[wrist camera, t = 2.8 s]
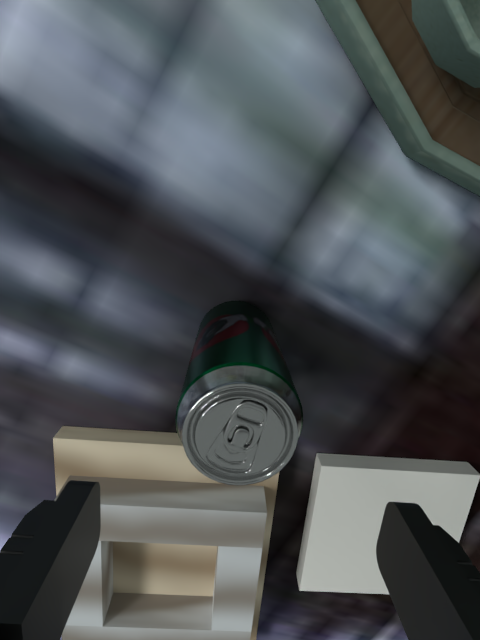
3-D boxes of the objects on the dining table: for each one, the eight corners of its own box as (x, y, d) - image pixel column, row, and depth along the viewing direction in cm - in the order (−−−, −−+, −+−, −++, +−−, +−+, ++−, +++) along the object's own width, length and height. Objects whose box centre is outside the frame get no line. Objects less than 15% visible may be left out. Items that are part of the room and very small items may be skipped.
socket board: (62, 425, 26) (34, 461, 22) (279, 439, 27) (287, 475, 23) (73, 624, 32) (51, 680, 28) (253, 630, 33) (256, 686, 29)
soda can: (188, 354, 25) (152, 471, 14) (214, 287, 24) (199, 354, 12) (255, 378, 26) (275, 510, 14) (284, 314, 24) (332, 403, 13)
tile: (316, 453, 28) (321, 465, 26) (467, 461, 28) (480, 475, 27) (296, 573, 31) (299, 590, 29) (431, 578, 31) (441, 596, 30)
